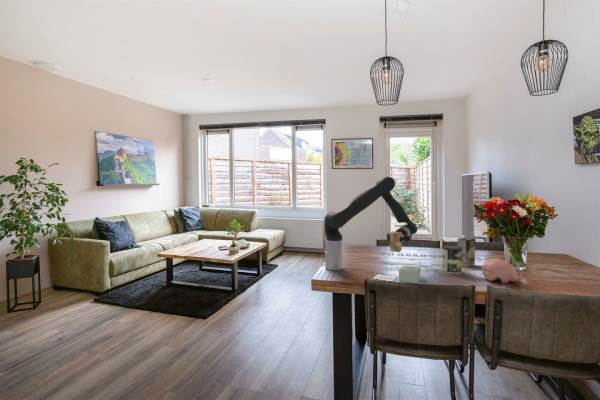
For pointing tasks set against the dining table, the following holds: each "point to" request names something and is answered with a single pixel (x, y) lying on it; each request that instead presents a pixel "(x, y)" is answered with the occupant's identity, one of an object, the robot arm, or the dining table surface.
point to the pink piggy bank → (499, 270)
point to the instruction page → (384, 277)
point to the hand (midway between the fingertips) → (394, 239)
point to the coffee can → (451, 259)
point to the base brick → (409, 274)
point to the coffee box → (467, 251)
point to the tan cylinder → (395, 241)
